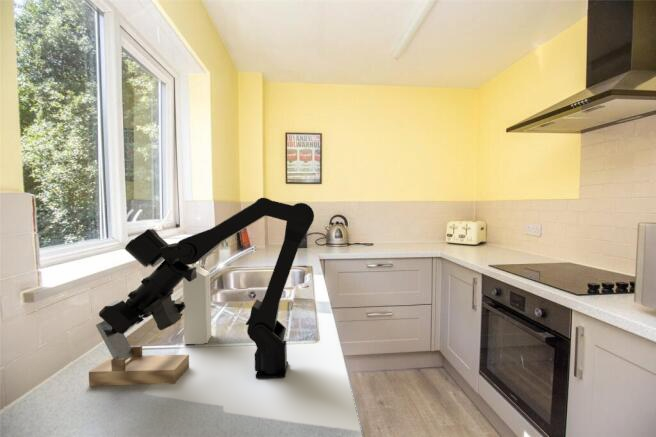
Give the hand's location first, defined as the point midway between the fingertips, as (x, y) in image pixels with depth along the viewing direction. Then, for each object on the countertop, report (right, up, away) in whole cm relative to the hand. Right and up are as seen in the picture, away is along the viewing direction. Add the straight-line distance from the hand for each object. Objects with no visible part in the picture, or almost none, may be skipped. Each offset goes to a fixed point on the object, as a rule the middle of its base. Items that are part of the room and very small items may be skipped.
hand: (114, 331), depth 69 cm
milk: (+11, -10, +19) cm, 24 cm away
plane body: (+6, -10, 0) cm, 12 cm away
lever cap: (+3, -7, 0) cm, 8 cm away
